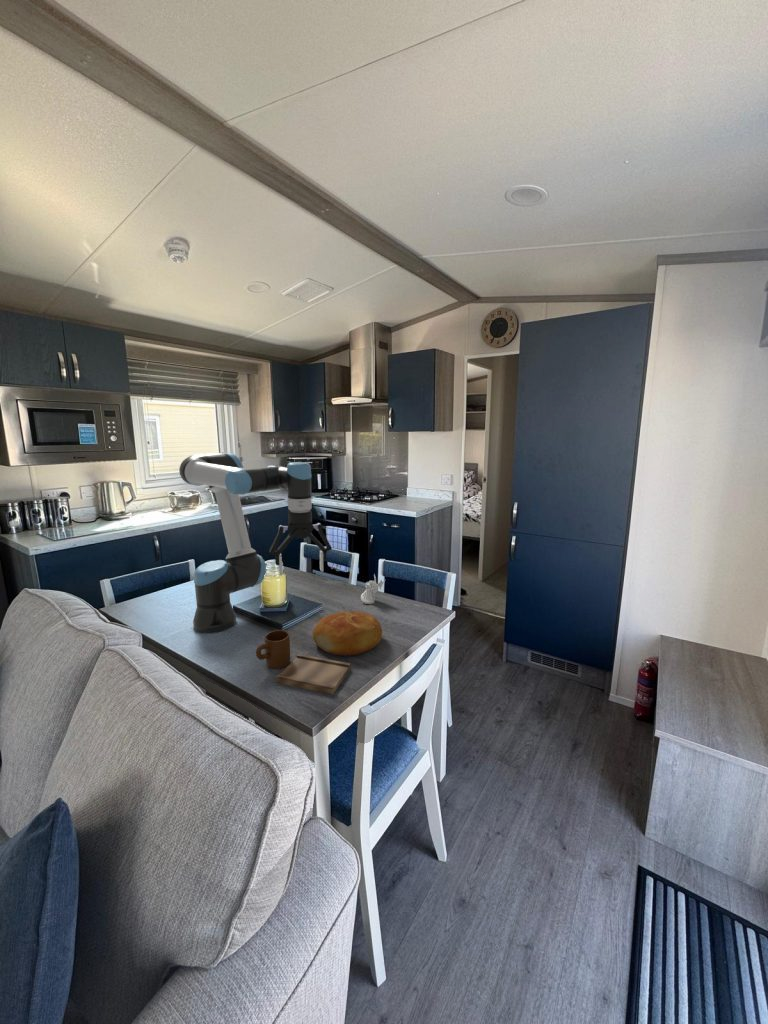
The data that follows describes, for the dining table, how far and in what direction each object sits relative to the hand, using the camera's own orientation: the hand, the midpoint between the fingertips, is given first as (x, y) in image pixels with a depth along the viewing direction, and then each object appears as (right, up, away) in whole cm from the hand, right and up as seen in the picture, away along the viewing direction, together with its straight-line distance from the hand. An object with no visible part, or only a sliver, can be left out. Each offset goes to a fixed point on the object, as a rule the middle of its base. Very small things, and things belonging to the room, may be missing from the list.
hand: (301, 572), depth 143 cm
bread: (+15, -25, +5) cm, 30 cm away
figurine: (+23, -18, +39) cm, 49 cm away
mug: (-7, -28, -10) cm, 31 cm away
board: (+7, -29, -15) cm, 33 cm away
